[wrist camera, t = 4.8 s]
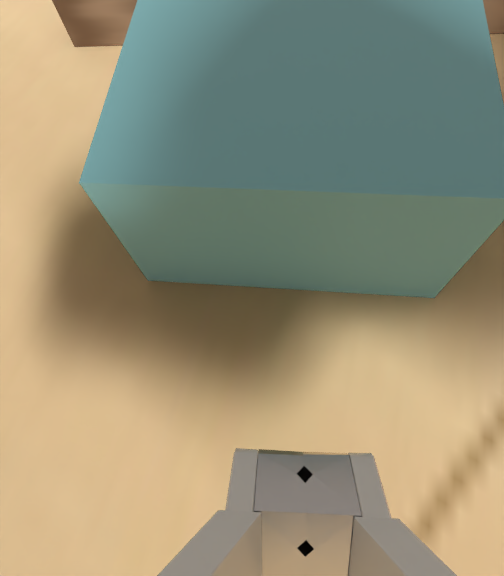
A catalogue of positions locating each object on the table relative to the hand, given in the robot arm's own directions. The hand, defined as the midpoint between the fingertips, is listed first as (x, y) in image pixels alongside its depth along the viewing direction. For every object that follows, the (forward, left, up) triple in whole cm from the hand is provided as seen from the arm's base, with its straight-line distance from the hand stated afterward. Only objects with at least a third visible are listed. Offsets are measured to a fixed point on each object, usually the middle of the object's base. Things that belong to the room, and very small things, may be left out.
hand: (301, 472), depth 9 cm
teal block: (0, -14, -9) cm, 17 cm away
